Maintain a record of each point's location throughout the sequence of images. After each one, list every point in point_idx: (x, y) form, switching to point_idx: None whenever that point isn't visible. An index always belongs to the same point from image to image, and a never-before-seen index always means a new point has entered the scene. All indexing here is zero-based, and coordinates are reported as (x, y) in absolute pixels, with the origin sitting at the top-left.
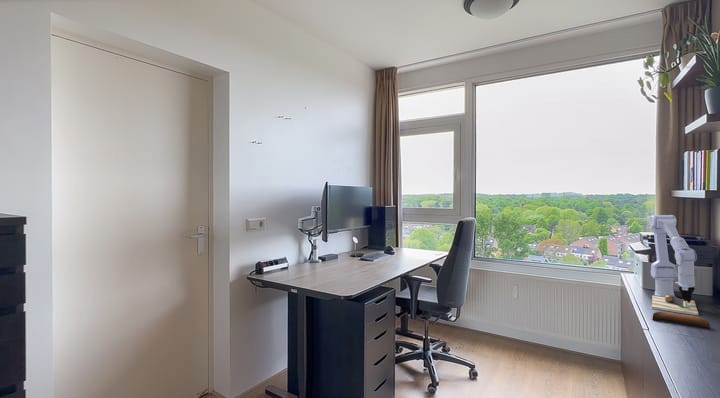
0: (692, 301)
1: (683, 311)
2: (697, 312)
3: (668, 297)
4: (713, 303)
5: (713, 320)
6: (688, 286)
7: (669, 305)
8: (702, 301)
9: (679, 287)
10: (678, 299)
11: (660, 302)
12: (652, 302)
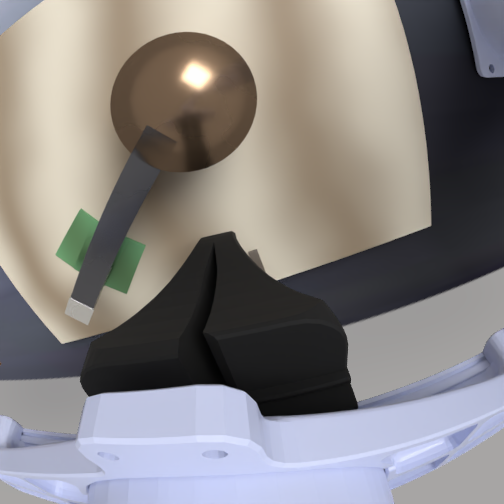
0: (403, 224)
1: (14, 280)
2: (64, 340)
3: (116, 105)
4: (468, 282)
5: (64, 377)
6: (51, 497)
7: (45, 156)
8: (487, 233)
9: (102, 380)
10: (91, 241)
11: (83, 46)
12: (23, 19)
